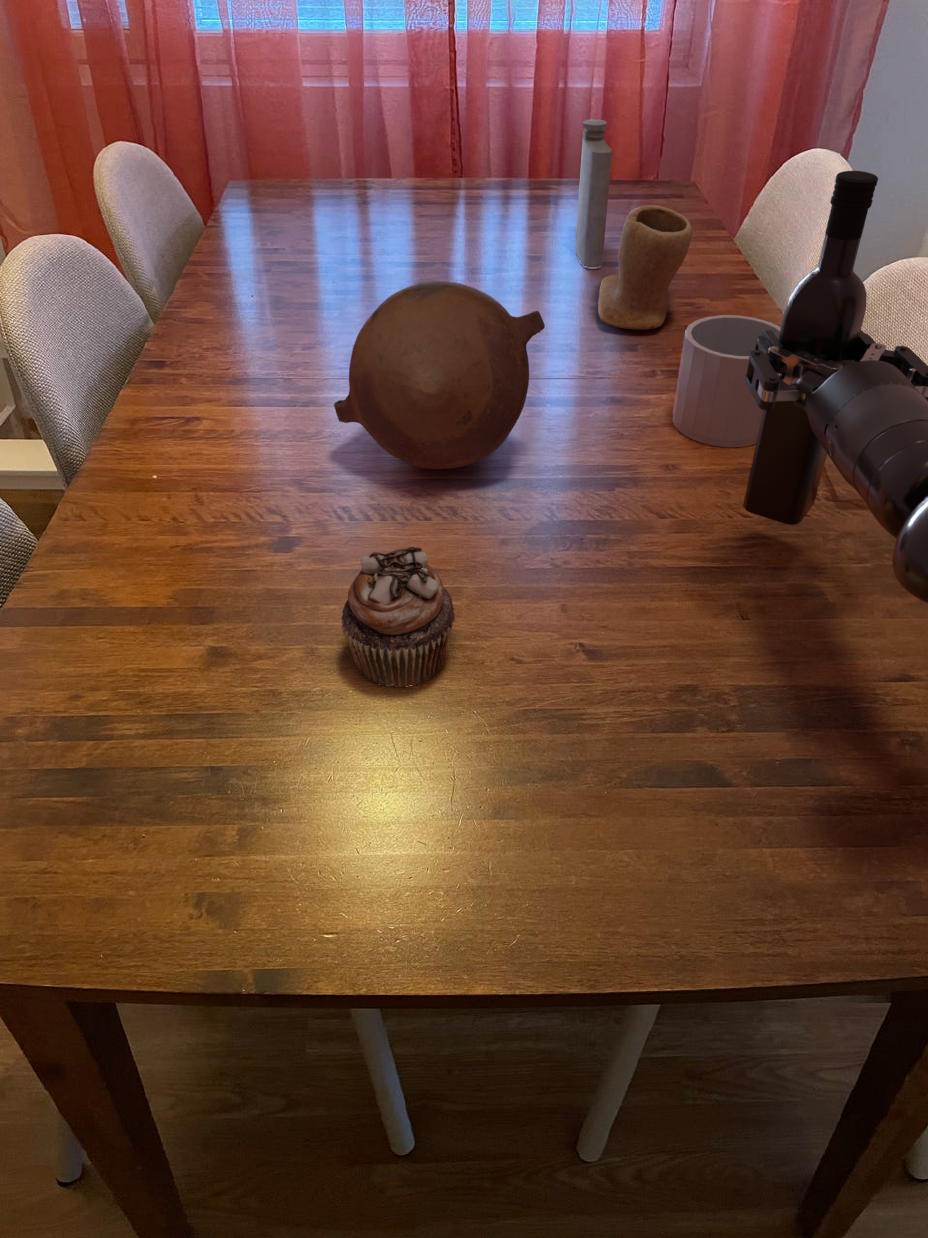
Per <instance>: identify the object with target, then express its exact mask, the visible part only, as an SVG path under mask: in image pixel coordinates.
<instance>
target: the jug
mask: <svg viewBox="0 0 928 1238" xmlns="http://www.w3.org/2000/svg"><path fill="white" fill-rule="evenodd" d="M545 327H546V324H545V322H544V319H543V317H542V315H541V313H540V311H539V310H535V311H532V312H530V313H527V314H524V315H520V316H513V315H511V314H510V313H509V311H508V310H507V308H505V307H504V306H503V305H502V304H501V303H500V302H499V301H498V300H496V299H495V298H494V297H493V296H491V295H489V294H487V293H486V292H484V291H481V290H479V289H478V288H475V287H473V286H470V285H466V284H463V283H460V282H455V281H445V280H433V281H425V282H419V283H416V284H413V285H409V286H407V287H404V288H403V289H402V288H401V289H400V290H398V291H396V292H394V293H393V294H391V295H390V296H389V297H387V298H386V299H385V300H383V301H382V302H381V303H380V304H379V305H378V306H377V308H376V309H375V310H374V311H373V312H372V313H371V315H370V316H369V317H368V318H367V319H366V321H365V322H364V323H363V325H362V327H361V328H360V330H359V332H358V334H357V336H356V338H355V341H354V344H353V347H352V350H351V355H350V361H349V367H348V387H349V390H348V394H347V396H346V398H344V399H338V400H337V401H335V402H334V403H333V408H334V411H335V415H336V416H337V420H338V422H340V423H344V424H349V423H357V424H360V425H361V426H362V427H363V428H364V429H365V430H366V432H367V433H368V434H369V435H370V436H371V438H373V440H374V441H375V442H376V444H378V445H379V446H380V448H382V449H383V450H384V451H385V452H387V453H388V454H390V455H391V456H392V457H394V458H396V459H398V460H400V461H401V462H404V463H406V464H409V465H412V466H414V467H418V468H422V469H429V470H448V469H449V470H450V469H457V468H461V467H466V466H469V465H471V464H474V463H477V462H479V461H481V460H483V459H485V458H486V457H489V456H490V455H491V454H493V453H494V452H495V451H497V450H498V449H499V447H500V446H501V445H503V443H504V442H505V440H506V439H507V438H508V437H509V436H510V433H511V432H512V431H513V429H514V428H515V426H516V424H517V422H518V420H519V418H520V417H521V414H522V412H523V409H524V407H525V403H526V400H527V396H528V390H529V384H530V363H529V355H528V351H527V350H528V349H527V345H528V343H529V342H530V340H532V338H533V337H534V336H536V335H537V334H539V333H541V332H542V331H543V330H544V329H545Z"/></svg>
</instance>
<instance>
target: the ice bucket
mask: <svg viewBox="0 0 928 1238" xmlns="http://www.w3.org/2000/svg"><path fill="white" fill-rule="evenodd" d="M780 329H781V326H779V325H777V324H775V323H773V322H770V321H767V320H764V319H761V318H760V319H759V318H757V317H753V316H752V317H751V316H745V315H738V314H737V315H736V314H719V315H711V316H705V317H703V318H700V319H697V320H694V321H693V322H691V323H690V324H688V325H687V327H686V329H685V331H684V335H683V342H682V349H681V355H680V362H679V369H678V374H677V382H676V387H675V394H674V401H673V407H672V419H671V420H672V423H673V426H674V427H675V429H676V430H677V431H678V432H679V433H680V434H681V435H683V436H685V437H686V438H688V439H690V440H692V441H695V442H697V443H701V444H704V445H708V446H712V447H719V448H743V447H744V448H745V447H750V446H754V445H756V442H757V438H758V433H759V428H760V423H761V419H762V414H763V410H762V409H760V408H759V407H758V405H757V403H756V401H755V399H754V397H753V395H752V393H751V391H750V390H749V388H748V386H747V384H746V382H745V374H746V372H747V367H748V362H749V354H750V351H753V350H755V348H756V343H757V338H758V336H761V334H762V331H763V330H772V331H773V333H774V334H775V335H776V337H777V338H779V334H780Z"/></svg>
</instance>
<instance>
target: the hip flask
mask: <svg viewBox="0 0 928 1238" xmlns="http://www.w3.org/2000/svg"><path fill="white" fill-rule="evenodd" d="M607 125H608V122H607V121H606V120H603V119H586V120H584V121H582V128H583V131H582V141H581V142H582V143H581V155H580V156H581V157H580V170H579V171H580V172H579V185H578V200H577V213H576V229H575V240H574V241H575V243H574V249H575V248H576V251H575V254H576V253H577V256H578V258H579V260H580V261H581V263H582V264H583V265H584V266H587V267H599V266H602V267H603V259H604V248H605V237H606V225H607V214H608V204H609V203H608V202H609V191H610V181H611V180H610V179H611V169H612V159H613V158H612V157H613V149H612V148H610V146H609V145H608V144H607V142H606V141H605V133H606V132H605V130H607ZM577 256H576V257H577ZM578 258H577V259H578ZM579 260H578V261H579Z"/></svg>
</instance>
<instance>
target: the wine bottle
mask: <svg viewBox="0 0 928 1238" xmlns="http://www.w3.org/2000/svg"><path fill="white" fill-rule="evenodd" d="M878 182H879V177H878V176H877V175H876V174H874V173H871V172H867V171H861V170H846V171H845V170H843V171H839V172H838V173H837V174H836V176H835V179H834V186H833V192H832V195H831V198H830V201H829V202H830V205H831V206H830V211H829V215H828V219H827V224H826V227H825V231H824V232H825V233H824V237H823V241H822V247H821V251H820V255H819V259H818V262H817V263H818V264H817V266H816V267H815V268H814V269H812V270H811V271H810V272H809V273H807V274H806V275H805V276H804V277H803V278H802V279H801V280H800V281H799V282H798V284H796V286H795V287H794V289H792V292H791V294H790V295H789V298H788V300H787V303H786V305H785V309H784V311H783V317H782V320H781V325H780V327H781V329H780V334H779V338H778V340H779V341H780V342H781V344H782V345H783V349H786V350H788V351H790V352H792V353H797V352H800V351H805V352H807V353H809V354H812V355H814V356H816V357H818V358H821V359H823V360H825V361H828V360H833V361H835V362H837V361H843V360H853V357H854V353H855V349H856V345H857V342H858V338H859V334H860V331H861V330H862V326H863V323H864V319H865V315H866V310H867V299H868V298H867V297H868V293H867V289H866V286H865V284H864V282H863V281H862V280H861V278H860V277H859V276H858V274H857V273H855V271H854V268H855V264H856V259H857V257H858V252H859V249H860V248H859V247H860V243H861V241H862V237H863V232H864V228H865V225H866V224H865V223H866V219H867V216H868V212H869V209H870V208H871V207H872V204H873V201H874V200H873V198H874V193H875V191H876V187H877V185H878ZM786 368H787V365H786V364H785V363H784V362H782V364H781V368H780V371H781V372H783V373H786ZM807 369H808V367H805V366H804V367H803V371H802V375H803V374H804V372H805V371H806V370H807ZM802 375H801V376H802ZM827 456H828V454H827V452H826V451H825V449H824V448H823V446H822V445H821V443H820V442H819V440H818V439H817V437H816V436H815V434H814V433H813V431H812V428H811V426H810V422H809V419H808V415H807V412H806V411H804V410H803V409H801V408H799V407H797V406H796V405H795V404H794V402H793V401H776V402H775V406H774V409H773V410H771V411H765V410H763V414H762V419H761V423H760V428H759V433H758V438H757V442H756V444H755V447H754V452H753V456H752V461H751V466H750V471H749V475H748V481H747V485H746V489H745V495H744V500H743V504H742V507H743V509H744V510H745V511H746V512H748V513H750V514H753V515H756V516H759V517H761V518H766V519H768V520H771V521H775V522H778V523H781V524H784V525H788V526H795V525H798V524H800V523H801V522H802V521H803V520H804V518H805V517H806V515H807V514H808V513H809V512H810V510H811V509H812V507H813V506H814V505H815V502H816V497H817V494H818V490H819V486H820V482H821V478H822V475H823V471H824V468H825V465H826V461H827Z"/></svg>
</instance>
